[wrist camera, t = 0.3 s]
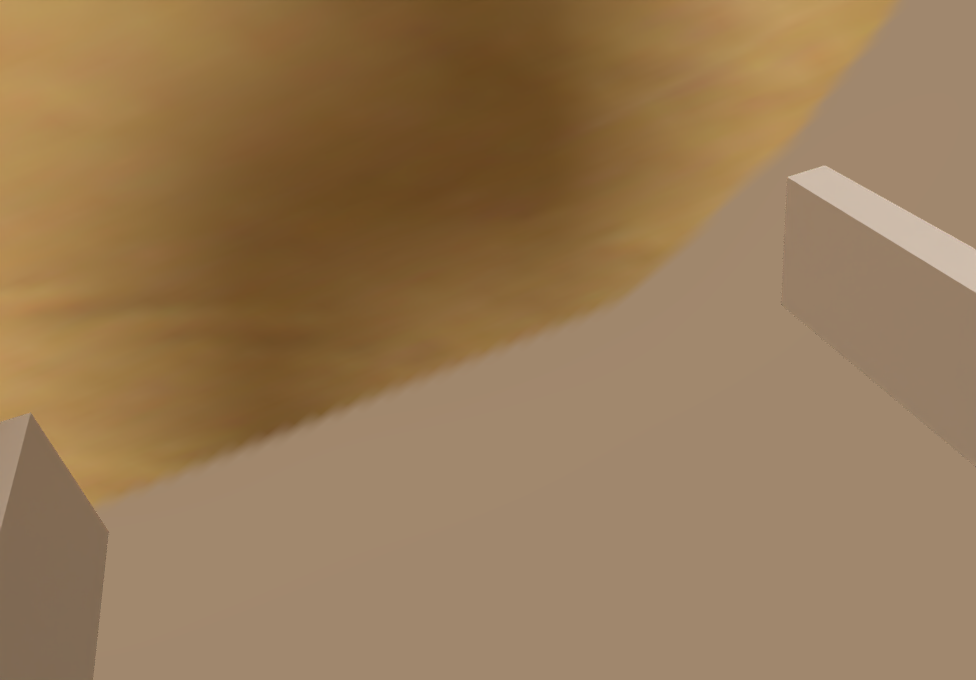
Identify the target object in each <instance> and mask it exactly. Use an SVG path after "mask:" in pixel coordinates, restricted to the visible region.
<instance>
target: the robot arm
mask: <svg viewBox="0 0 976 680" xmlns="http://www.w3.org/2000/svg"><path fill="white" fill-rule="evenodd" d="M781 305H782V306H783V307H784V308H785V309H787V310H788V311H789V312H790V313H791V314H793V315H794V316H795V317H796V318H797V319H799V320H800V321H801V322H802V323H803V324H805V325H806V326H807V327H808V328H809V329H811V330H812V331H813V332H814V333H815V334H817V335H818V336H819V337H820V338H821V339H823V340H824V341H825V342H826V343H827V344H829V345H830V346H831V347H832V348H833V349H835V350H836V351H837V352H838V353H840V354H841V355H842V356H843V357H844V358H845V359H847V360H848V361H849V362H850V363H851V364H853V365H854V366H855V367H856V368H857V369H859V370H860V371H861V372H862V373H863V374H865V375H866V376H867V377H868V378H869V379H871V380H872V381H873V382H874V383H875V384H877V385H878V386H879V387H880V388H881V389H883V390H884V391H885V392H886V393H887V394H889V395H890V396H891V397H892V398H894V399H895V400H896V401H897V402H898V403H900V404H901V405H902V406H903V407H904V408H905V409H907V410H908V411H909V412H910V413H911V414H913V415H914V416H915V417H916V418H917V419H919V420H920V421H921V422H922V423H923V424H925V425H926V426H927V427H928V428H929V429H931V430H932V431H933V432H934V433H936V434H937V435H938V436H939V437H940V438H941V439H943V440H944V441H945V442H946V443H947V444H949V445H950V446H951V447H952V448H953V449H955V450H956V451H957V452H958V453H960V454H961V455H962V456H963V457H964V458H965V459H967V460H968V461H969V462H970V463H971V464H973V465H974V466H975V467H976V249H974V248H972V247H970V246H969V245H967V244H965V243H963V242H961V241H960V240H958V239H956V238H954V237H952V236H951V235H949V234H947V233H945V232H943V231H942V230H940V229H938V228H936V227H935V226H933V225H931V224H929V223H928V222H926V221H924V220H922V219H920V218H919V217H917V216H915V215H913V214H911V213H910V212H908V211H906V210H904V209H902V208H901V207H899V206H897V205H895V204H893V203H892V202H890V201H888V200H886V199H885V198H883V197H881V196H879V195H877V194H876V193H874V192H872V191H870V190H868V189H866V188H865V187H863V186H861V185H859V184H857V183H856V182H854V181H852V180H851V179H849V178H847V177H845V176H843V175H842V174H840V173H838V172H836V171H834V170H833V169H831V168H829V167H827V166H822V167H818V168H815V169H812V170H808V171H805V172H802V173H799V174H796V175H792V176H789V177H787V192H786V212H785V234H784V256H783V276H782V298H781ZM108 533H109V531H108V530H107V528H106V527H105V525H104V524H103V522H102V521H101V519H100V517H99V516H98V514H97V513H96V511H95V510H94V508H93V507H92V505H91V504H90V502H89V501H88V499H87V498H86V496H85V495H84V493H83V492H82V490H81V489H80V487H79V485H78V484H77V482H76V481H75V479H74V478H73V476H72V475H71V473H70V472H69V470H68V469H67V467H66V466H65V464H64V463H63V461H62V460H61V458H60V457H59V455H58V453H57V452H56V450H55V449H54V447H53V446H52V444H51V443H50V441H49V440H48V438H47V437H46V435H45V434H44V432H43V431H42V429H41V428H40V426H39V424H38V423H37V421H36V420H35V418H34V417H33V415H32V414H31V413H28V414H25V415H21V416H18V417H15V418H12V419H9V420H5V421H2V422H0V680H93V673H94V665H95V655H96V646H97V637H98V627H99V618H100V608H101V599H102V589H103V579H104V571H105V561H106V552H107V543H108Z"/></svg>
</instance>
